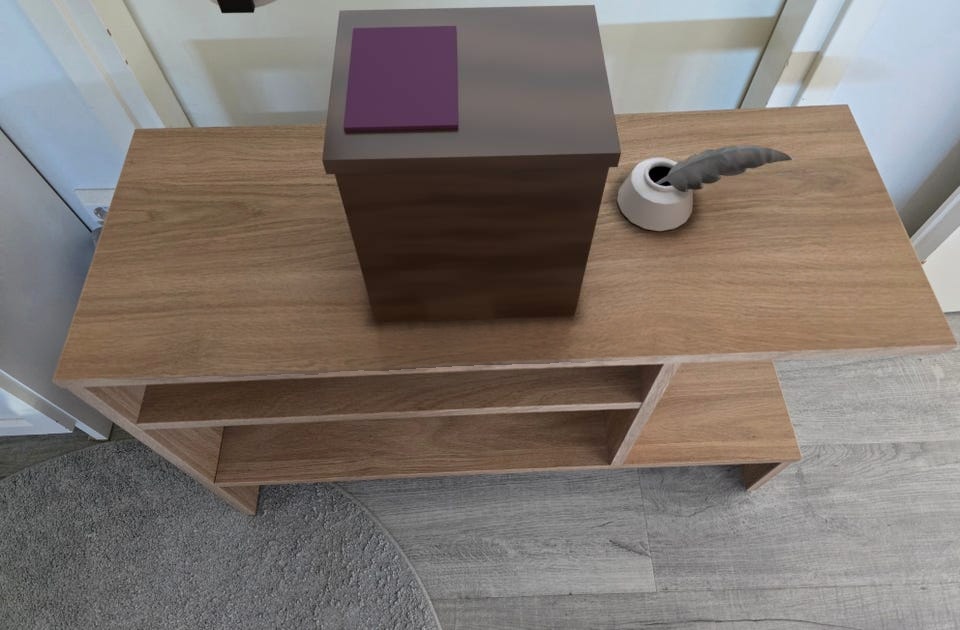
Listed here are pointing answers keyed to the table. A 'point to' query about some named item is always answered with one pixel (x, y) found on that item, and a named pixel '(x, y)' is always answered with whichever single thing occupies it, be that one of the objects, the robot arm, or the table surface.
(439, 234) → the box
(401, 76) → the purple rectangular slab
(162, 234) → the table surface
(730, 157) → the inkwell
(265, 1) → the cup
